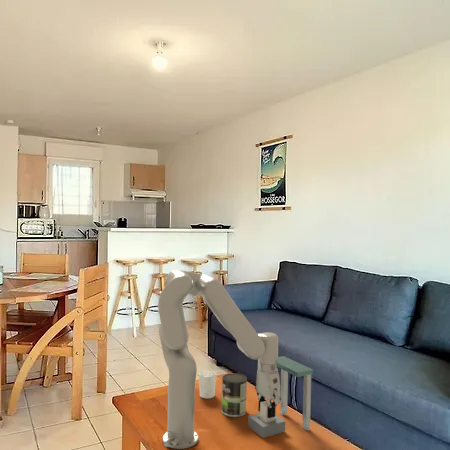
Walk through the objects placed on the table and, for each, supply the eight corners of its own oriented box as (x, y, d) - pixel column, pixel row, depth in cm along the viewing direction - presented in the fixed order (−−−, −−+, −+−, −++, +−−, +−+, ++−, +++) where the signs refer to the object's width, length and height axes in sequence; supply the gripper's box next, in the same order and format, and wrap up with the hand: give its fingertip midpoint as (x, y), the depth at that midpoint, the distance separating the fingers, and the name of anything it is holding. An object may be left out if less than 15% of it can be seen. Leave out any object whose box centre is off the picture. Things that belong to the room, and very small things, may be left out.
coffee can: (228, 419, 171) (229, 383, 170) (217, 408, 180) (217, 375, 180) (251, 414, 175) (251, 379, 175) (238, 404, 184) (239, 371, 184)
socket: (263, 438, 156) (263, 427, 156) (248, 426, 165) (248, 415, 165) (285, 431, 161) (285, 421, 161) (269, 420, 170) (269, 410, 170)
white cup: (195, 393, 195) (196, 371, 195) (211, 391, 198) (212, 369, 198) (202, 400, 188) (202, 377, 188) (218, 397, 191) (219, 375, 191)
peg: (265, 433, 160) (266, 406, 160) (259, 428, 164) (260, 402, 163) (273, 430, 162) (275, 404, 162) (267, 425, 166) (269, 400, 165)
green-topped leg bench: (296, 435, 159) (297, 372, 158) (267, 415, 174) (269, 358, 174) (311, 430, 162) (313, 369, 162) (282, 411, 178) (283, 356, 178)
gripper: (289, 371, 157) (288, 421, 157) (263, 358, 172) (262, 403, 172) (273, 375, 153) (271, 425, 154) (247, 361, 168) (246, 407, 168)
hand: (266, 413), depth 163 cm, fingers open, 5 cm apart
